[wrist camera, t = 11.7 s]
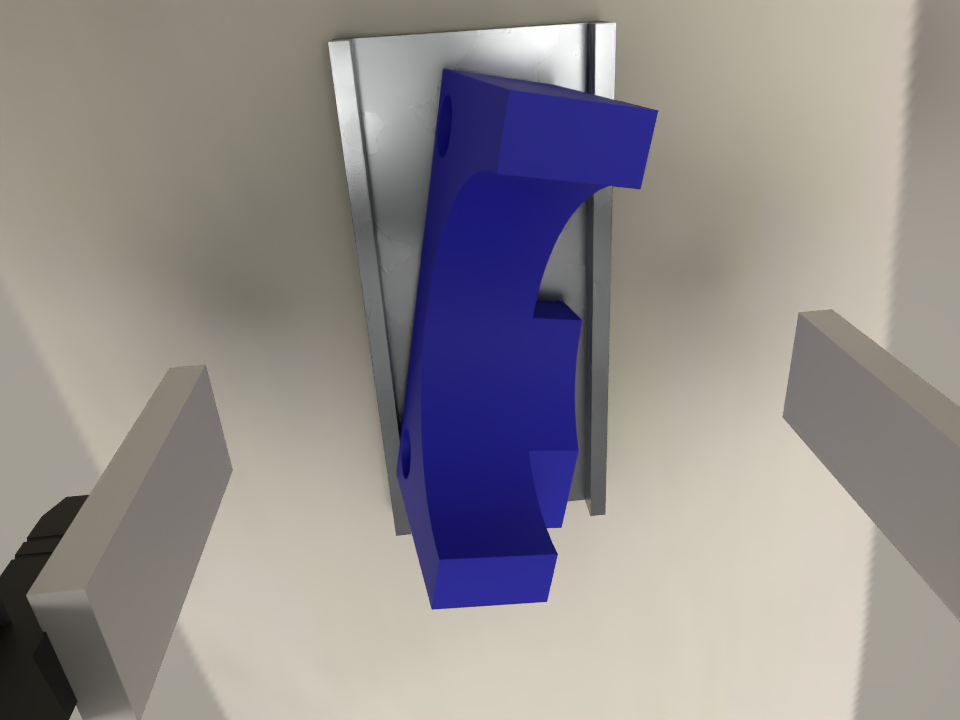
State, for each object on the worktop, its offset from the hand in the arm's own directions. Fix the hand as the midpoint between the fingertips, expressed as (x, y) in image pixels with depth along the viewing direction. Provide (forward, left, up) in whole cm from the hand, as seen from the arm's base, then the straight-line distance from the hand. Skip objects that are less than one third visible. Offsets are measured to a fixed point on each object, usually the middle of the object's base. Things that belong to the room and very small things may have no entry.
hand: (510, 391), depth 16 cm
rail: (0, 0, -6) cm, 6 cm away
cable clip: (0, 0, -6) cm, 6 cm away
